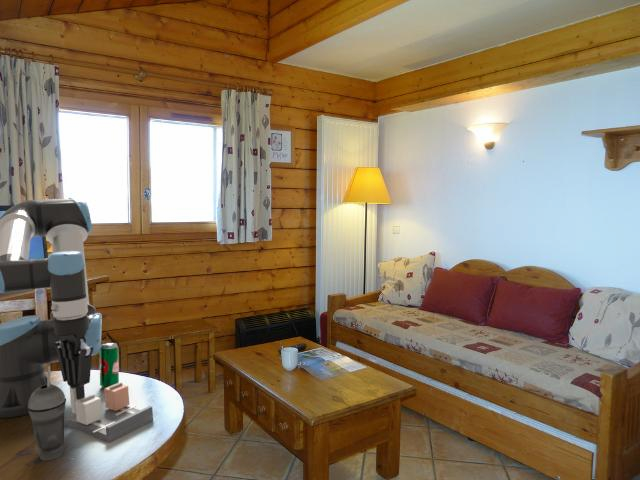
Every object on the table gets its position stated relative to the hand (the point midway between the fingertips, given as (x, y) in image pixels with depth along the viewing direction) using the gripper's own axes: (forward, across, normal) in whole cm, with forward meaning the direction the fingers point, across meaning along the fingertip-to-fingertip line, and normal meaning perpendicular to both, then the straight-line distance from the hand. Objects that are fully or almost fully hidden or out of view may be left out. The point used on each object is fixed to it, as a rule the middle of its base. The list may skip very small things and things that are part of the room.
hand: (78, 410), depth 118 cm
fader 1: (+2, +4, 0) cm, 4 cm away
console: (+4, +6, +4) cm, 8 cm away
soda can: (+3, -14, +18) cm, 23 cm away
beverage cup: (+4, +8, -11) cm, 14 cm away
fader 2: (+2, +3, +8) cm, 9 cm away
